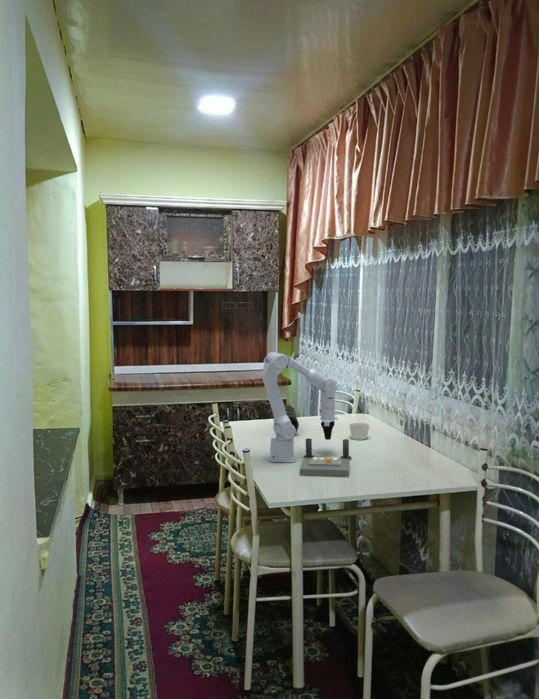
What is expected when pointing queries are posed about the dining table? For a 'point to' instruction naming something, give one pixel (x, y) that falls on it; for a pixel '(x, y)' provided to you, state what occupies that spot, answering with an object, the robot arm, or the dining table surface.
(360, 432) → the candle
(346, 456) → the dark flanged peg
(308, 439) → the gray flanged cylinder
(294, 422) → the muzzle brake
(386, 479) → the dining table surface
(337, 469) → the breaker panel
